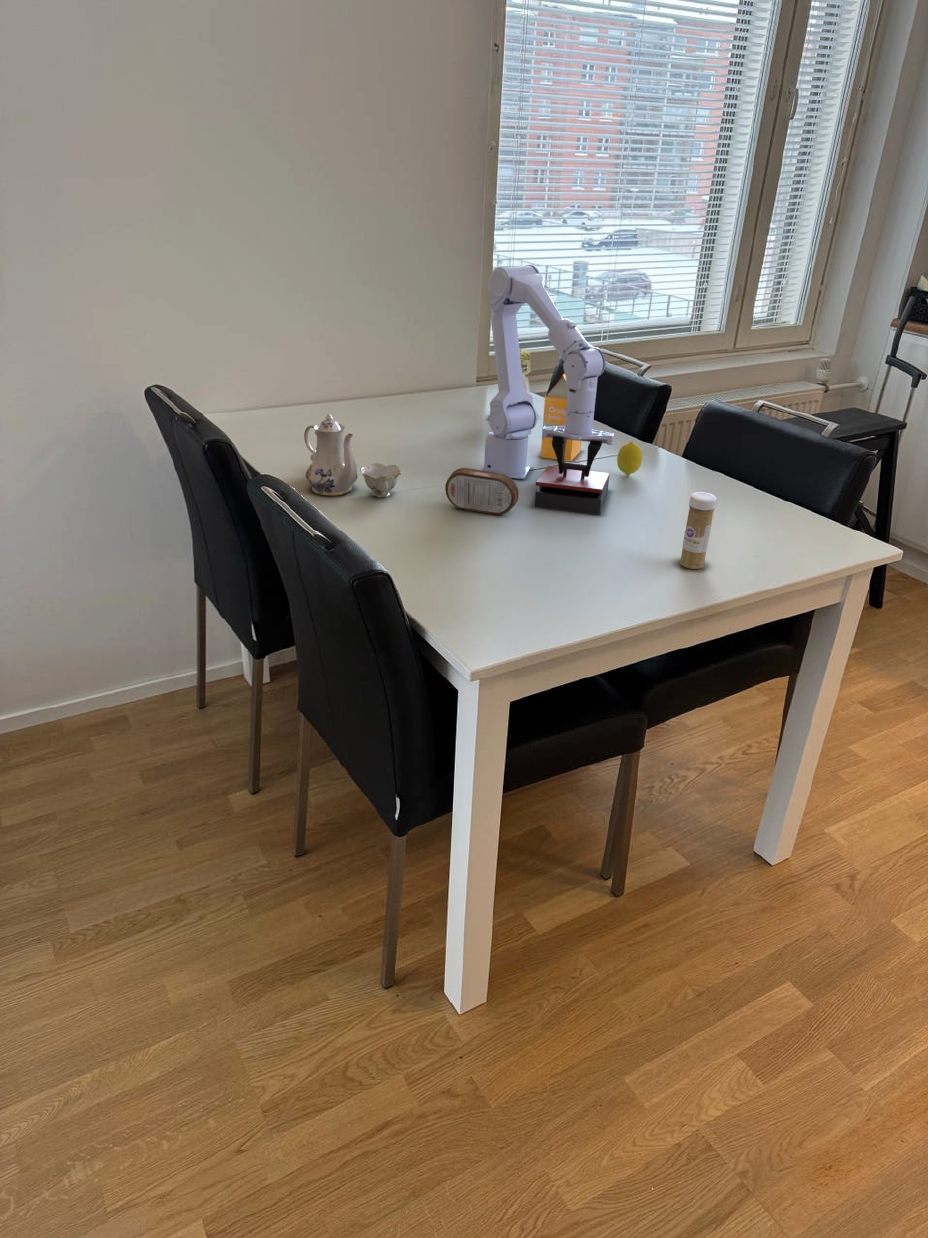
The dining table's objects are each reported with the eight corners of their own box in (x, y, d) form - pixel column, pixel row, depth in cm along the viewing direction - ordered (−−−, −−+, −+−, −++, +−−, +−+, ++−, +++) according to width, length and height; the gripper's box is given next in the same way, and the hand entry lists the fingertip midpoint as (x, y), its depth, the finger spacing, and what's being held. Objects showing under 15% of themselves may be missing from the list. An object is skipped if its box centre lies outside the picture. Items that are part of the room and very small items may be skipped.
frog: (546, 418, 247) (552, 349, 238) (518, 427, 238) (523, 356, 230) (511, 409, 254) (516, 341, 245) (482, 418, 245) (486, 348, 236)
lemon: (639, 480, 206) (643, 446, 202) (614, 478, 207) (618, 444, 203) (640, 472, 211) (644, 439, 207) (615, 470, 211) (619, 436, 208)
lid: (601, 493, 184) (603, 474, 182) (535, 485, 186) (536, 467, 185) (609, 476, 198) (611, 459, 196) (547, 469, 200) (549, 452, 199)
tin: (517, 513, 186) (520, 474, 182) (513, 519, 183) (515, 479, 179) (448, 502, 190) (449, 464, 186) (443, 508, 187) (443, 468, 183)
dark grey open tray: (599, 515, 187) (601, 500, 185) (534, 507, 190) (535, 492, 188) (607, 491, 199) (609, 476, 198) (546, 483, 202) (547, 469, 200)
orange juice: (539, 457, 218) (546, 372, 209) (550, 446, 225) (557, 364, 216) (571, 461, 216) (579, 376, 206) (581, 451, 223) (589, 368, 213)
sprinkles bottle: (674, 564, 167) (685, 495, 160) (686, 557, 170) (698, 489, 163) (697, 572, 164) (709, 502, 158) (709, 564, 167) (721, 495, 161)
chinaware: (415, 501, 194) (421, 423, 188) (355, 513, 183) (360, 431, 176) (330, 468, 211) (333, 396, 204) (270, 478, 199) (272, 401, 192)
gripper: (541, 411, 183) (536, 475, 190) (613, 418, 180) (606, 483, 187) (547, 402, 189) (542, 465, 196) (617, 409, 186) (610, 472, 193)
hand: (574, 473), depth 192 cm, fingers closed on lid, 5 cm apart
